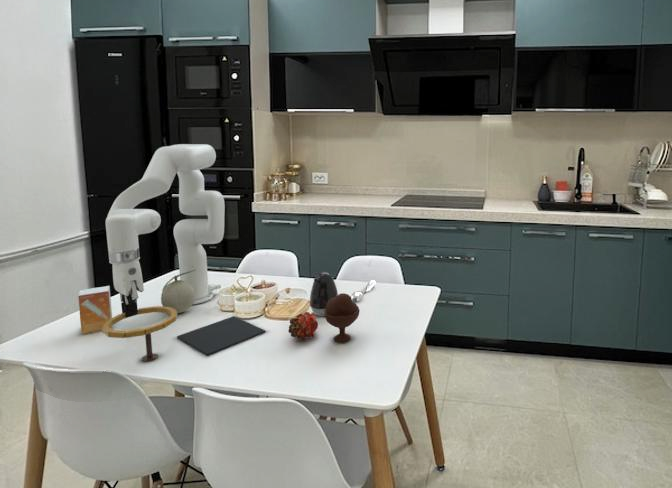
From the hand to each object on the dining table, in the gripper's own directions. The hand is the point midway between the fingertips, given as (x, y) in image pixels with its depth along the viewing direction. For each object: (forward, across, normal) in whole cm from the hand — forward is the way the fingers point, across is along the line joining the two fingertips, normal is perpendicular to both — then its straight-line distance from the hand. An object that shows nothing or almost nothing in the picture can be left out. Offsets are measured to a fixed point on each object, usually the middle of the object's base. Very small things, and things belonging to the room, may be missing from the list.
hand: (130, 314), depth 131 cm
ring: (+1, -8, 0) cm, 8 cm away
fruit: (+10, +14, -20) cm, 26 cm away
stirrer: (+11, -26, -74) cm, 79 cm away
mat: (+10, -16, -20) cm, 27 cm away
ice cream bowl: (+10, -48, -41) cm, 64 cm away
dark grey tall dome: (+10, -28, -51) cm, 59 cm away
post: (+10, -13, 0) cm, 16 cm away
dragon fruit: (+10, -38, -35) cm, 52 cm away
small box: (+10, +22, +2) cm, 25 cm away
